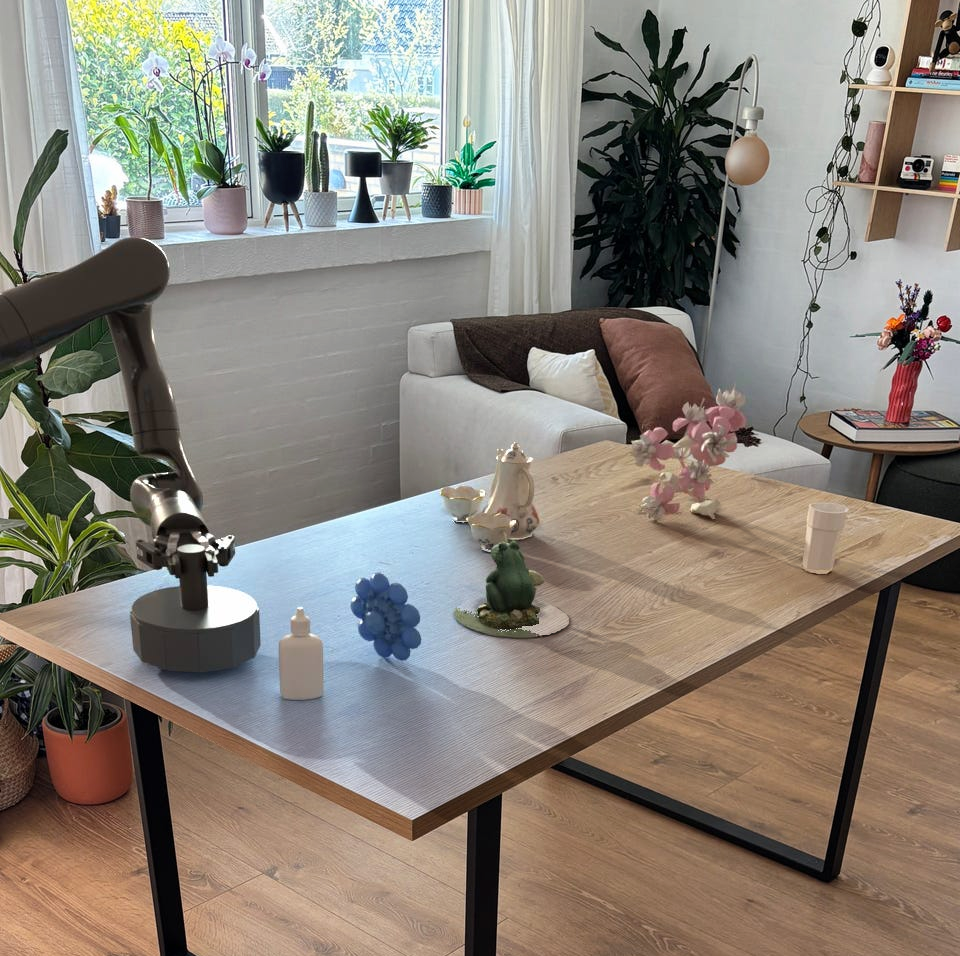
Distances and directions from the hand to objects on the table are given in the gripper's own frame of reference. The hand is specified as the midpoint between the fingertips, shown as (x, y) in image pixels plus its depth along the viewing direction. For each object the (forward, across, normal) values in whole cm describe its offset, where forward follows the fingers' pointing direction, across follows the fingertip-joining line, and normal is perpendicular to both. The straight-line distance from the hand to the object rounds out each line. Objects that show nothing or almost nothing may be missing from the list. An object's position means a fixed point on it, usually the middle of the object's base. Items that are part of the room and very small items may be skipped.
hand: (195, 570), depth 170 cm
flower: (-56, +98, +14) cm, 114 cm away
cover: (-3, 0, +12) cm, 12 cm away
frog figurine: (-10, +48, +14) cm, 52 cm away
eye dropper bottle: (+12, +11, +14) cm, 22 cm away
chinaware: (-51, +59, +14) cm, 80 cm away
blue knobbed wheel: (+2, +25, +14) cm, 28 cm away
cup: (-23, +110, +14) cm, 113 cm away
